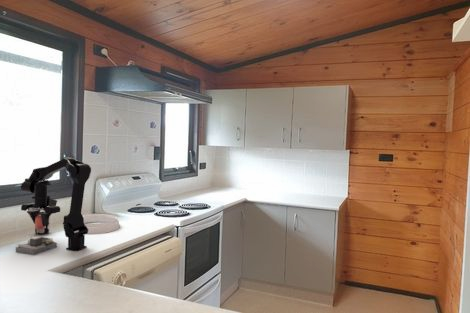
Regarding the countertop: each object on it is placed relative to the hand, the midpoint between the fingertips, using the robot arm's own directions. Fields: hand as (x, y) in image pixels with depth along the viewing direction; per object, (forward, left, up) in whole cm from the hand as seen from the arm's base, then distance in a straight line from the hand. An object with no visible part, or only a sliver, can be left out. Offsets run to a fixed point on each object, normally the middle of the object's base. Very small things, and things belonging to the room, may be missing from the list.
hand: (40, 225), depth 176 cm
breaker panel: (-8, +10, -8) cm, 15 cm away
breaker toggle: (-11, +13, -6) cm, 18 cm away
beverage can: (+11, -12, -8) cm, 18 cm away
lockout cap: (0, 0, -1) cm, 1 cm away
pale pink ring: (-5, -33, -8) cm, 34 cm away
